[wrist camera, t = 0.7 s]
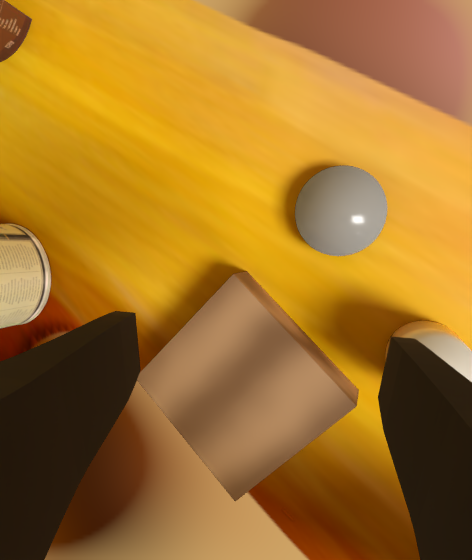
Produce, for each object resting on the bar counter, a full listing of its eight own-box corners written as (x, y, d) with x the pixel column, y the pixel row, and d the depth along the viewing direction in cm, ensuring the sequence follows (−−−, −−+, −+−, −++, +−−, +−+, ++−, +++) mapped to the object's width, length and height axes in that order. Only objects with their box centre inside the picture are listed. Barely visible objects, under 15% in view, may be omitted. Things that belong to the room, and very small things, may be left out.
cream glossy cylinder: (485, 361, 25) (513, 391, 20) (423, 407, 26) (434, 445, 21) (426, 305, 26) (438, 320, 21) (369, 352, 27) (368, 376, 22)
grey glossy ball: (406, 211, 26) (408, 208, 24) (340, 272, 28) (338, 274, 26) (342, 152, 27) (340, 146, 25) (283, 215, 29) (277, 213, 27)
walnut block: (358, 390, 28) (356, 406, 25) (247, 478, 31) (235, 501, 29) (246, 271, 30) (233, 273, 27) (155, 366, 34) (134, 377, 31)
